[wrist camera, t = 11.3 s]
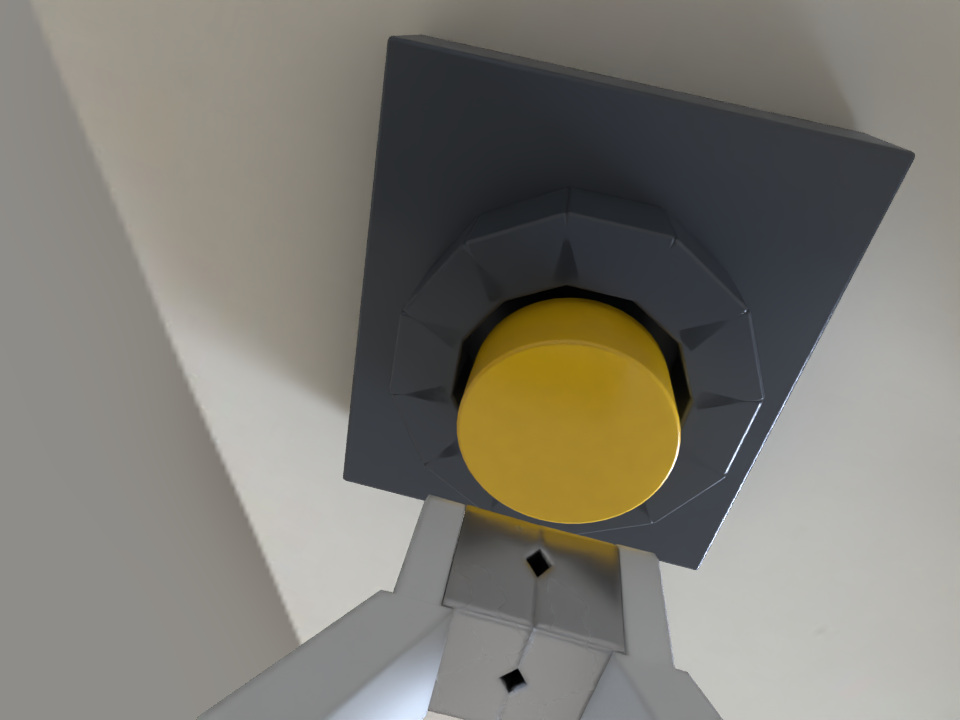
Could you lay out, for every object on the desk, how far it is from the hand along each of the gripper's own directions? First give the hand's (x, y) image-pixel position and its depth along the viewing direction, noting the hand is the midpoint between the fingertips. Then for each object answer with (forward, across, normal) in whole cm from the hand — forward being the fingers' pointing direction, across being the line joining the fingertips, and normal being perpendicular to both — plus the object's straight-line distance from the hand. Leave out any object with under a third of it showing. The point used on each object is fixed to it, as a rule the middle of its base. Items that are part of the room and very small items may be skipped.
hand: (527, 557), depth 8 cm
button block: (+8, 0, 0) cm, 8 cm away
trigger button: (+4, 0, 0) cm, 4 cm away
